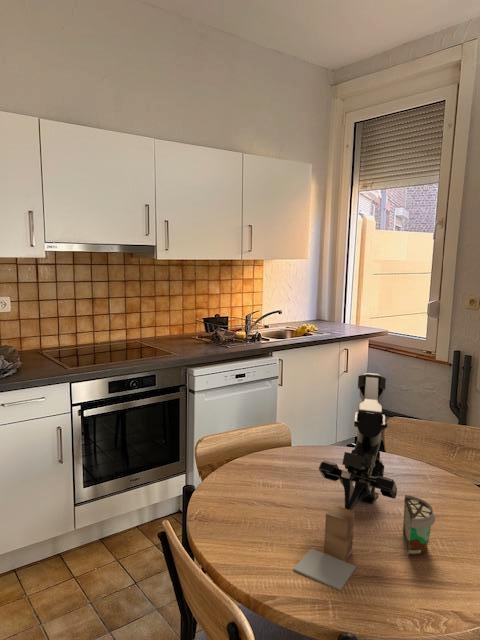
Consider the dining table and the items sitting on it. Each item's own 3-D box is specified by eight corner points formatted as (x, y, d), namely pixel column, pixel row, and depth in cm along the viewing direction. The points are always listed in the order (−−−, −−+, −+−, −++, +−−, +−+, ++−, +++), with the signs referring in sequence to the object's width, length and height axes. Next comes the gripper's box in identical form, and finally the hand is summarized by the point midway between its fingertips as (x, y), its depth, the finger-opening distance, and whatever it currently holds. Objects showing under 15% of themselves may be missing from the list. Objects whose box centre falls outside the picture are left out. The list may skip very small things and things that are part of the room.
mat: (311, 550, 112) (311, 548, 112) (355, 568, 106) (356, 566, 106) (293, 570, 104) (293, 568, 104) (340, 590, 98) (340, 588, 98)
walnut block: (332, 543, 115) (334, 504, 113) (351, 551, 112) (354, 511, 111) (323, 553, 110) (325, 513, 109) (344, 561, 108) (346, 520, 106)
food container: (437, 564, 108) (440, 523, 107) (409, 560, 109) (412, 519, 108) (427, 533, 120) (430, 496, 119) (401, 530, 121) (404, 493, 120)
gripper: (323, 430, 121) (302, 487, 113) (397, 447, 111) (379, 511, 103) (333, 449, 129) (314, 504, 121) (403, 468, 118) (387, 529, 111)
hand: (346, 511), depth 114 cm, fingers closed
